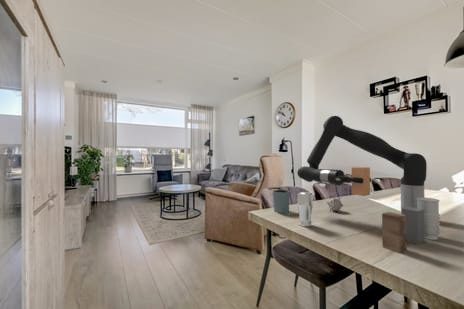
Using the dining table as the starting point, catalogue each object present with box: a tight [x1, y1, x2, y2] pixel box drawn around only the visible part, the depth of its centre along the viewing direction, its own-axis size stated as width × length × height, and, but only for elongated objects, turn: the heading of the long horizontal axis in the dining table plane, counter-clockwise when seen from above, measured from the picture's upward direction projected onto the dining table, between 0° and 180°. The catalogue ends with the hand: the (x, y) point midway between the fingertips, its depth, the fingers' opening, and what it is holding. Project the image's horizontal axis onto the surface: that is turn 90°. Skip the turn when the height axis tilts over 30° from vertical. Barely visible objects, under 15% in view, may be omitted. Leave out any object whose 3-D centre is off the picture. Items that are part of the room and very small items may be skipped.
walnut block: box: [381, 211, 407, 254], centre depth 74 cm, size 5×5×12 cm
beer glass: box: [296, 191, 314, 228], centre depth 100 cm, size 7×7×15 cm
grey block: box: [402, 207, 425, 245], centre depth 81 cm, size 5×5×12 cm
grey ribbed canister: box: [416, 197, 441, 241], centre depth 84 cm, size 7×7×15 cm
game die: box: [327, 196, 344, 213], centre depth 123 cm, size 9×8×10 cm
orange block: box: [351, 166, 371, 197], centre depth 93 cm, size 5×5×12 cm
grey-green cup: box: [272, 189, 291, 214], centre depth 124 cm, size 10×10×12 cm
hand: (366, 180), depth 91 cm, fingers closed on orange block, 5 cm apart
